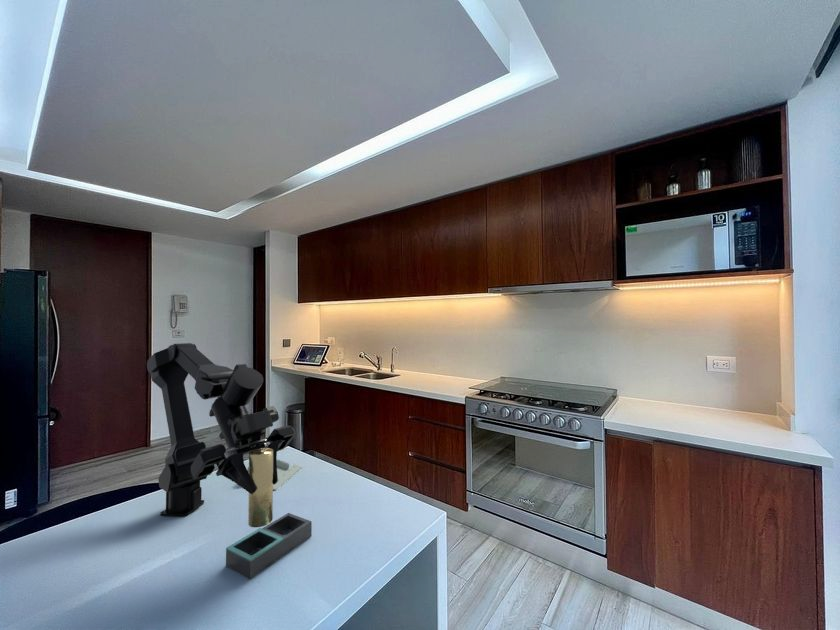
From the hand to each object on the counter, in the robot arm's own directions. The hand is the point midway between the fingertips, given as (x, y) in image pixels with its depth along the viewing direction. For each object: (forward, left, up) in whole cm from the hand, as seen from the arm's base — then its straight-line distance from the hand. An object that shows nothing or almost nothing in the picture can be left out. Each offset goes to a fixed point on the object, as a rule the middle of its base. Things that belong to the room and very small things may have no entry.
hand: (265, 487), depth 65 cm
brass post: (-1, +1, -7) cm, 7 cm away
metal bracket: (-17, +35, -14) cm, 41 cm away
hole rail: (0, +3, -13) cm, 14 cm away
